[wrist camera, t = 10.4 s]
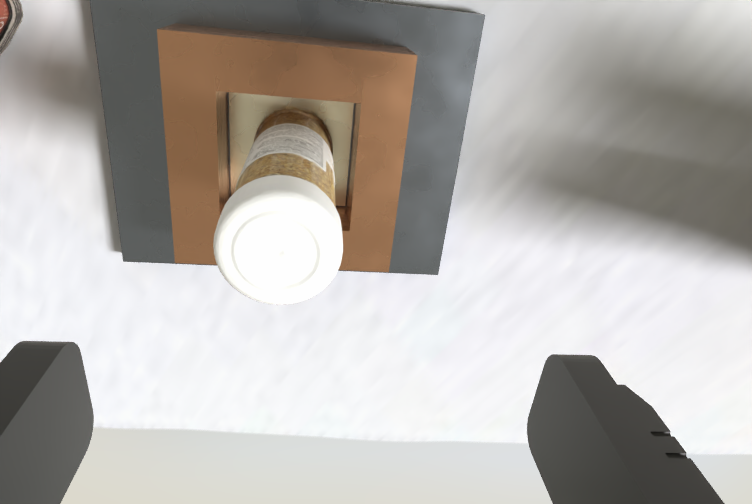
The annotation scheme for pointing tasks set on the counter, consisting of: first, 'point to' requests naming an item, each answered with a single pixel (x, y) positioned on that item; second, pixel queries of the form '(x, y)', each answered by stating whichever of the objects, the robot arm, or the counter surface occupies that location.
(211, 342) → the counter surface
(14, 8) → the lighter
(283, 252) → the spice jar
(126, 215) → the collar deck
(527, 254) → the counter surface
